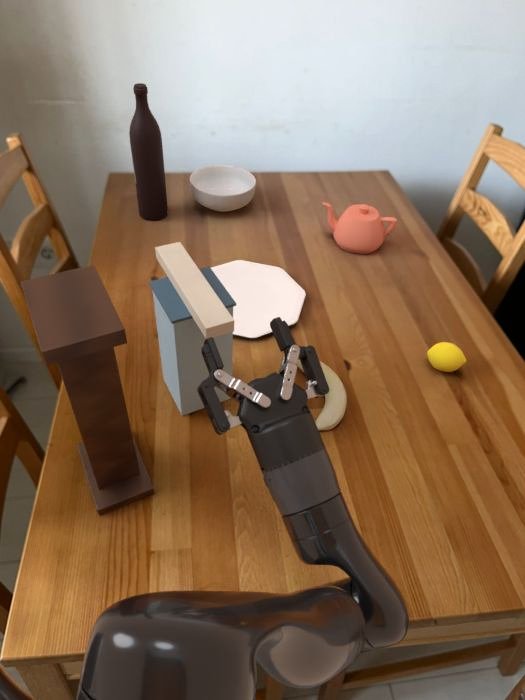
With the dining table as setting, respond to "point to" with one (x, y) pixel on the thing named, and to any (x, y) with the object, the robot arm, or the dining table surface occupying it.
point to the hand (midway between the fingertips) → (241, 329)
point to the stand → (90, 379)
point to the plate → (260, 296)
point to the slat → (195, 291)
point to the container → (187, 343)
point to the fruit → (331, 400)
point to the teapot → (359, 228)
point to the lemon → (446, 357)
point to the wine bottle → (147, 159)
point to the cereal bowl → (222, 187)
